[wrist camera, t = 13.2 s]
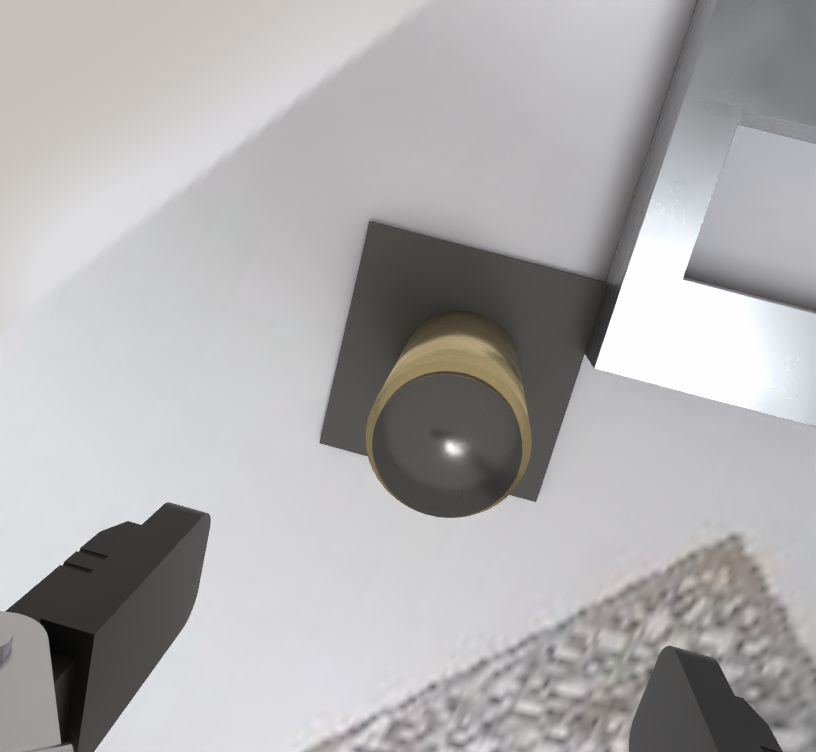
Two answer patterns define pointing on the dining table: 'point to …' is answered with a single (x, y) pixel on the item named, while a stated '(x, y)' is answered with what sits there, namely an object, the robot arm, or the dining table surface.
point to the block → (685, 211)
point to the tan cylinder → (451, 419)
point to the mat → (473, 292)
